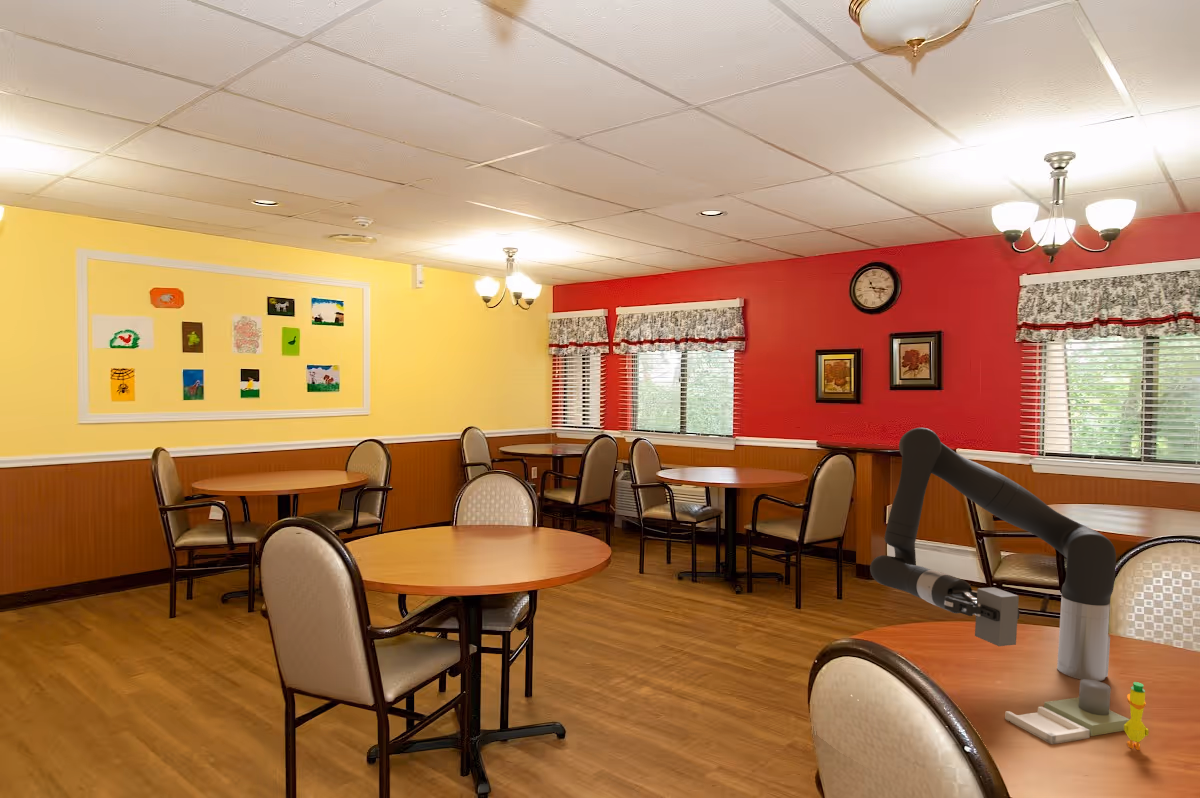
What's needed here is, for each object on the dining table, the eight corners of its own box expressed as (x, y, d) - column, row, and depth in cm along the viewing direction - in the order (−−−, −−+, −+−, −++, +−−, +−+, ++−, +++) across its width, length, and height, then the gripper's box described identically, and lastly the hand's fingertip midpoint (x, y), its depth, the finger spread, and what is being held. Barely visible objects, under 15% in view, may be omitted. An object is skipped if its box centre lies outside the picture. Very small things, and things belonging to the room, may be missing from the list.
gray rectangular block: (991, 634, 153) (994, 587, 152) (1015, 644, 147) (1018, 595, 147) (974, 635, 151) (977, 588, 151) (998, 646, 145) (1001, 597, 145)
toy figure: (1118, 736, 136) (1122, 673, 136) (1141, 741, 135) (1145, 677, 134) (1125, 751, 130) (1129, 686, 130) (1149, 757, 129) (1154, 691, 128)
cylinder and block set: (1080, 706, 149) (1082, 673, 149) (1132, 730, 139) (1134, 694, 139) (1002, 717, 142) (1004, 682, 142) (1051, 744, 132) (1053, 706, 132)
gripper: (918, 575, 160) (981, 599, 144) (969, 572, 164) (1036, 595, 148) (917, 609, 160) (979, 636, 144) (967, 605, 165) (1034, 631, 148)
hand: (1008, 615), depth 146 cm, fingers closed on gray rectangular block, 4 cm apart
